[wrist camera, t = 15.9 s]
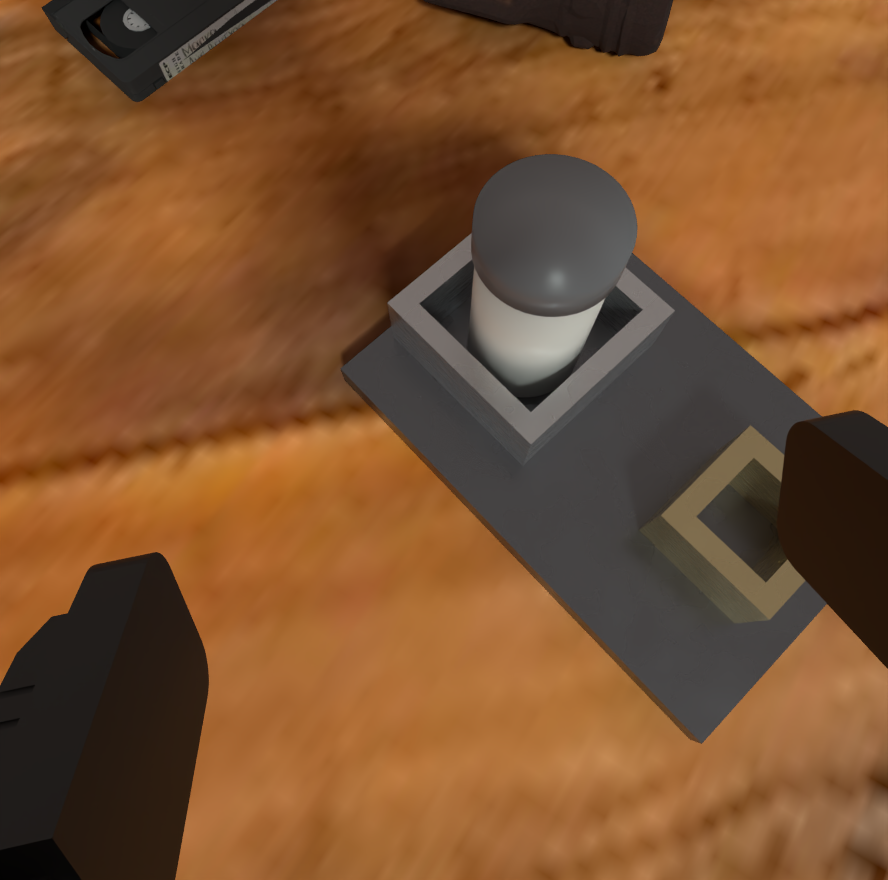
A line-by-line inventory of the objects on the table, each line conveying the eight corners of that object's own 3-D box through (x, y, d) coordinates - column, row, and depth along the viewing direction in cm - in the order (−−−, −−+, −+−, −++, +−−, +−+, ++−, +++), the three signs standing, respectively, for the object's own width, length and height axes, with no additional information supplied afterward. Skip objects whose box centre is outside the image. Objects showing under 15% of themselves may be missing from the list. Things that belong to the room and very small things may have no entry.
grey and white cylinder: (439, 340, 34) (439, 214, 25) (525, 272, 36) (557, 128, 26) (519, 425, 33) (552, 326, 24) (606, 351, 34) (671, 229, 25)
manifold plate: (344, 380, 36) (328, 337, 31) (552, 205, 38) (567, 141, 34) (689, 739, 31) (734, 755, 26) (898, 507, 33) (973, 482, 29)
